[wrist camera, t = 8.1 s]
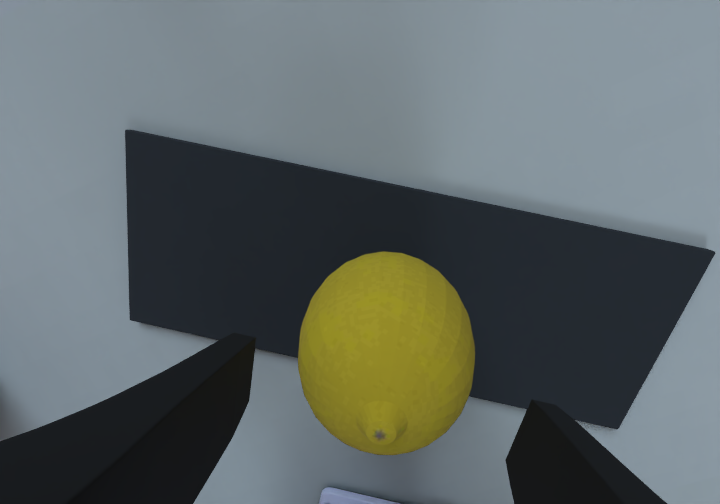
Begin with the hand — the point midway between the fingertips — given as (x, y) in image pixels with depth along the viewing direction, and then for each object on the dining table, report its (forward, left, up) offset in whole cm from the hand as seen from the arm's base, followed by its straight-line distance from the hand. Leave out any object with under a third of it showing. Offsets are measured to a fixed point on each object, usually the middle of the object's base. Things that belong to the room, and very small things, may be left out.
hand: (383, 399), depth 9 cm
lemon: (0, 0, -7) cm, 7 cm away
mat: (0, 0, -7) cm, 7 cm away
